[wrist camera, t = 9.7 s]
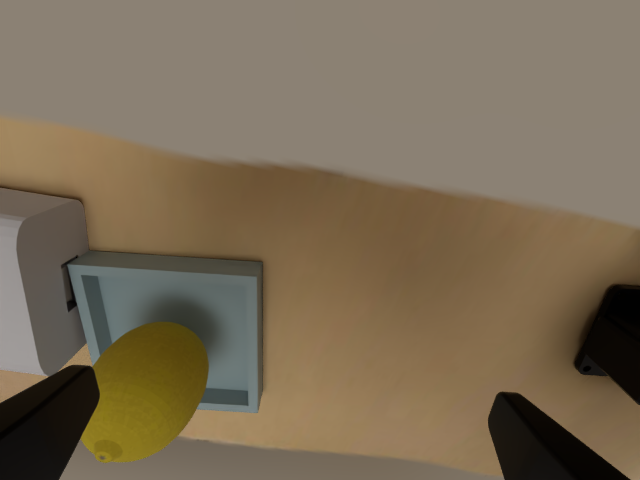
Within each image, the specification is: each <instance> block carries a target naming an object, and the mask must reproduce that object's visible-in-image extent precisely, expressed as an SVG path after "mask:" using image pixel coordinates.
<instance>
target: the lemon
mask: <svg viewBox="0 0 640 480" xmlns="http://www.w3.org/2000/svg"><path fill="white" fill-rule="evenodd" d="M92 368H93V369H94V371H95V375H96V379H97V383H98V387H99V391H100V399H99V402H98V405H97V407H96V409H95V411H94V413H93V415H92V417H91V419H90V421H89V423H88V425H87V427H86V429H85V430H84V432H83V434H82V436H81V440H82V442H83V443H84V445H85V446H86V447H87V448H88V450H90V452H92V453H93V454H95V458H96V459H97V460H99V461H100V462H104V463H107V462H110V461H113V462H131V461H135V460H139V459H143V458H146V457H148V456H150V455H152V454H154V453H156V452H158V451H160V450H162V449H163V448H164V447H165V446H167V445H168V444H169V443H170V442H171V441H172V440H173V439H174V438H175V437H177V436H178V435H179V433H180V432H181V431H182V430H183V429H184V427H185V426H186V425H187V424H188V422H189V421H190V419H191V418H192V416H193V414H194V413H195V411H196V409H197V407H198V405H199V403H200V401H201V399H202V397H203V395H204V392H205V389H206V385H207V379H208V372H209V361H208V356H207V352H206V349H205V347H204V345H203V343H202V341H201V340H200V338H199V337H198V336H197V335H196V334H195V333H194V332H193V331H191V330H190V329H189V328H187V327H185V326H182V325H180V324H177V323H173V322H153V323H147V324H144V325H141V326H139V327H137V328H135V329H132V330H130V331H128V332H127V333H125V334H124V335H122V336H121V337H120V338H118V339H117V340H116V341H115V342H114V343H113V344H112V345H111V346H109V347H108V348H107V349H106V350H105V351H104V352H103V353H102V355H101V356H100V357H99V358H98V360H97V361H96V363H95V364H94V366H93V367H92Z"/></svg>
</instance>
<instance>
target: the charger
mask: <svg viewBox="0 0 640 480" xmlns="http://www.w3.org/2000/svg"><path fill="white" fill-rule="evenodd" d="M88 251H89V246H88V237H87V229H86V220H85V212H84V207H83V205H82V203H81V202H80V201H79V200H75V199H68V198H62V197H56V196H49V195H43V194H37V193H30V192H24V191H18V190H11V189H5V188H0V370H7V371H15V372H22V373H30V374H37V375H45V376H51V375H53V374H55V373H57V372H58V371H59V370H60V369H61V368H62V367H63V366H64V365H65V364H66V363H67V362H68V361H69V360H70V359H71V358H72V357H73V356H74V355H75V354H76V353H77V352H78V351H79V350H80V349H81V348H82V347H83V346H84V345H85V344H86V343H87V341H86V337H85V333H84V329H83V325H82V321H81V317H80V313H79V309H78V305H77V301H76V297H75V293H74V289H73V285H72V281H71V277H70V273H69V270H68V266H67V264H69V263H70V262H72V261H73V260H75V259H76V255H78V257H80V256H82V255H83V254H85V253H86V252H88Z"/></svg>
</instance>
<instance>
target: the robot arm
mask: <svg viewBox="0 0 640 480" xmlns="http://www.w3.org/2000/svg"><path fill="white" fill-rule="evenodd" d="M575 368H576V369H577V370H578V371H579V372H580V373H581V374H583V375H597V376H609V377H610V378H611V379H612V380H613V381H614V382H615V383H616V384H617V385H618V386H619V387H620V388H621V389H622V390H623V391H624V392H625V393H626V394H627V395H629V396H630V397H631V398H632V399H633V400H634V401H635V402H636V403H637V404H638V405H640V286H626V285H616V286H614V287H612V288H611V289H610V290H609V292H608V294H607V296H606V298H605V300H604V302H603V304H602V307H601V309H600V311H599V313H598V315H597V317H596V320H595V322H594V324H593V326H592V328H591V330H590V333H589V335H588V337H587V339H586V341H585V343H584V346H583V348H582V350H581V352H580V354H579V356H578V359H577V361H576V363H575ZM99 399H100V391H99V387H98V383H97V379H96V375H95V371H94V369H93V368H92V367H91V366H86V365H71V366H68V367H66V368H64V369H62V370H61V371H59V372H57V373H55V374H53V375H51V376H49V377H48V378H46V379H44V380H42V381H40V382H38V383H37V384H35V385H33V386H31V387H29V388H27V389H25V390H24V391H22V392H20V393H18V394H16V395H14V396H12V397H11V398H9V399H7V400H5V401H3V402H1V403H0V480H59V478H60V477H61V475H62V473H63V471H64V469H65V467H66V465H67V464H68V462H69V460H70V458H71V456H72V454H73V452H74V450H75V448H76V446H77V444H78V442H79V440H80V438H81V436H82V434H83V432H84V430H85V429H86V427H87V425H88V423H89V421H90V419H91V417H92V415H93V413H94V411H95V409H96V407H97V405H98V402H99ZM488 426H489V431H490V434H491V437H492V440H493V444H494V447H495V450H496V453H497V457H498V460H499V463H500V466H501V469H502V473H503V476H504V479H505V480H630V479H629V478H628V477H626V476H625V475H624V474H622V473H621V472H620V471H619V470H617V469H616V468H615V467H613V466H612V465H611V464H610V463H608V462H607V461H606V460H604V459H603V458H602V457H601V456H599V455H598V454H597V453H595V452H594V451H593V450H592V449H590V448H589V447H588V446H586V445H585V444H584V443H583V442H581V441H580V440H579V439H577V438H576V437H575V436H574V435H572V434H571V433H570V432H568V431H567V430H566V429H565V428H563V427H562V426H561V425H559V424H558V423H557V422H556V421H554V420H553V419H552V418H550V417H549V416H548V415H547V414H545V413H544V412H543V411H541V410H540V409H539V408H537V407H536V406H535V405H534V404H532V403H531V402H530V401H528V400H527V399H526V398H525V397H523V396H522V395H520V394H519V393H514V392H499V393H498V394H497V395H496V398H495V400H494V403H493V406H492V409H491V411H490V414H489V417H488Z"/></svg>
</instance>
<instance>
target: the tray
mask: <svg viewBox="0 0 640 480" xmlns="http://www.w3.org/2000/svg"><path fill="white" fill-rule="evenodd" d="M67 266H68V270H69V273H70V277H71V281H72V285H73V289H74V293H75V297H76V301H77V305H78V309H79V313H80V317H81V321H82V325H83V329H84V333H85V337H86V341H87V345H88V349H89V353H90V357H91V361H92V364H93V366H94V364H95V363H96V361H97V360H98V358H99V357H100V356H101V355H102V353H103V352H104V351H105V350H106V349H107V348H108V347H109V346H111V345H112V344H113V343H114V342H115V341H116V340H117V339H118V338H120V337H121V336H122V335H124V334H125V333H127V332H128V331H130V330H132V329H135V328H137V327H139V326H141V325H144V324H147V323H153V322H173V323H177V324H180V325H182V326H185V327H187V328H189V329H190V330H191V331H193V332H194V333H195V334H196V335H197V336H198V337H199V338H200V340H201V341H202V343H203V345H204V347H205V349H206V352H207V356H208V361H209V372H208V379H207V385H206V389H205V392H204V395H203V397H202V399H201V401H200V403H199V405H198V407H197V409H200V410H217V411H233V412H249V413H258V410H259V406H260V401H261V396H262V392H263V262H253V261H238V260H223V259H208V258H193V257H178V256H162V255H147V254H132V253H117V252H102V251H88V252H86V253H85V254H83V255H82V256H80V257H78V258H77V259H75V260H73V261H72V262H70V263H69V264H67Z"/></svg>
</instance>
